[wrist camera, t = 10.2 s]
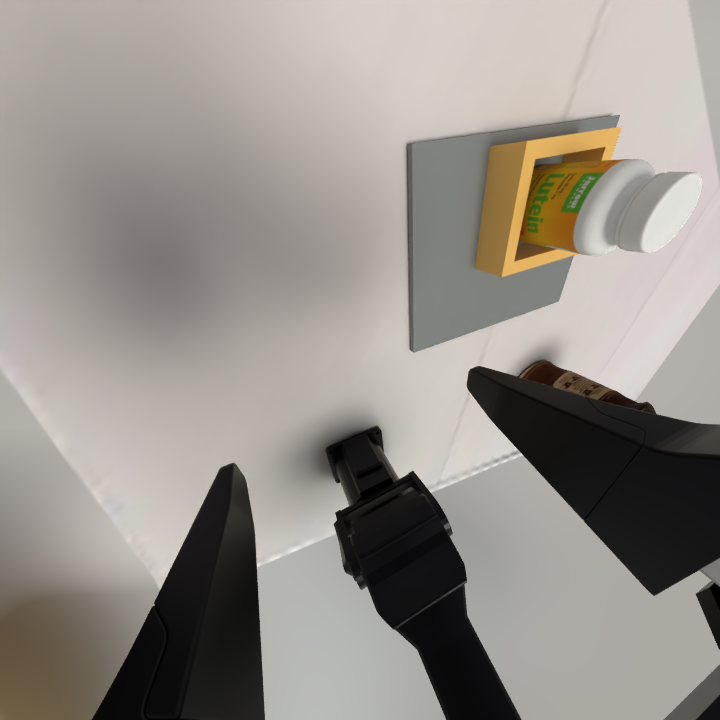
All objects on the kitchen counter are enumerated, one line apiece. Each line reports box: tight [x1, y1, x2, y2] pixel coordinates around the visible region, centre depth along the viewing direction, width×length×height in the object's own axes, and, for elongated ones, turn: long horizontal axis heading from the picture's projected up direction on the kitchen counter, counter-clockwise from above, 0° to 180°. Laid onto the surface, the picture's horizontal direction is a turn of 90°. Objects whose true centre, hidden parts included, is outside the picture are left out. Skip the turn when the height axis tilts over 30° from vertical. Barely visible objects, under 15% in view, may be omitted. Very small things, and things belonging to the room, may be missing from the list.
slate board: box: [407, 115, 620, 353], centre depth 24 cm, size 16×19×1 cm
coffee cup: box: [520, 360, 656, 414], centre depth 34 cm, size 9×8×13 cm
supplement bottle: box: [518, 159, 702, 256], centre depth 19 cm, size 5×5×10 cm
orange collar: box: [475, 127, 622, 277], centre depth 21 cm, size 8×8×3 cm
